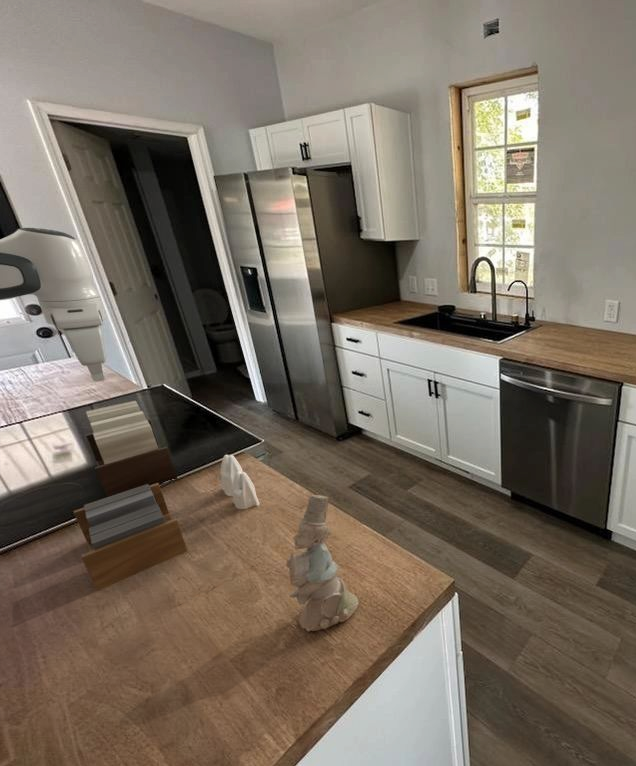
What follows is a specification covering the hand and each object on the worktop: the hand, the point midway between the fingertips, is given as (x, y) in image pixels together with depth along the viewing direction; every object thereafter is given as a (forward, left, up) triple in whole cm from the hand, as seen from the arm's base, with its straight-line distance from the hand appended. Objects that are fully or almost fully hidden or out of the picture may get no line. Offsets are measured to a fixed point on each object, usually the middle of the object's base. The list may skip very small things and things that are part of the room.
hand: (96, 374), depth 90 cm
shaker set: (+30, -17, -26) cm, 43 cm away
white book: (+1, +1, -24) cm, 24 cm away
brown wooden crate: (+1, 0, -25) cm, 25 cm away
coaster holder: (+17, -30, -25) cm, 42 cm away
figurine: (+53, -50, -26) cm, 77 cm away
